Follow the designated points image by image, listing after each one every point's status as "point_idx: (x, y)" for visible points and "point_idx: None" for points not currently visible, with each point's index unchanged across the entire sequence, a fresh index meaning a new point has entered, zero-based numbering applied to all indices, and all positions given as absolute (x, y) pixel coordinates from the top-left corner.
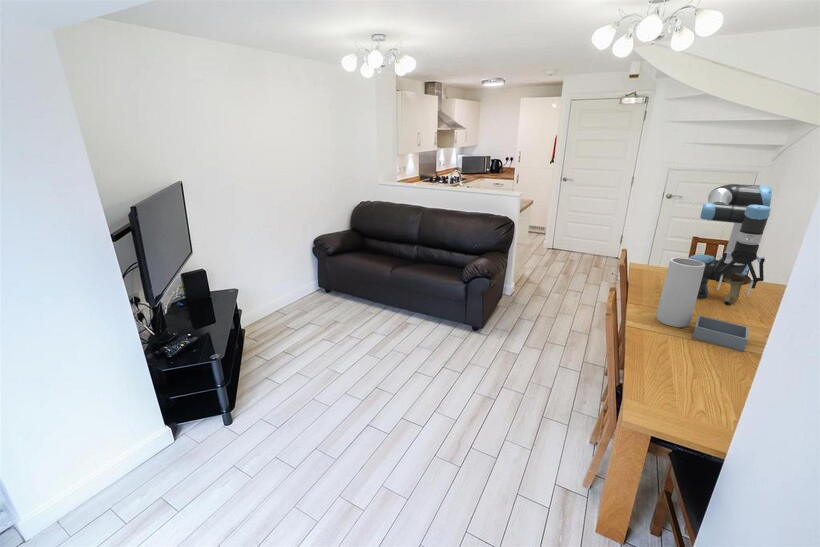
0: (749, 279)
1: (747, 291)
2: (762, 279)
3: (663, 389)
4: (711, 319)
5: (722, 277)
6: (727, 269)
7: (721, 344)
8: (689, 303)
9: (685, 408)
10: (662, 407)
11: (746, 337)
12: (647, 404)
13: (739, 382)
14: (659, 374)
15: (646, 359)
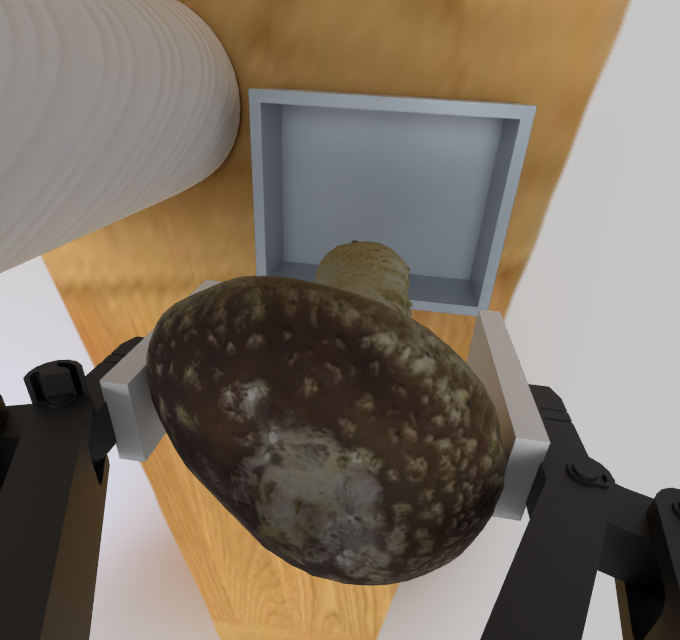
0: (462, 551)
1: (475, 362)
2: (659, 597)
3: (258, 580)
4: (325, 106)
5: (152, 446)
6: (94, 584)
7: None
8: (143, 200)
9: (305, 615)
10: (268, 623)
11: (484, 292)
12: (244, 623)
13: None
14: (236, 536)
15: (190, 487)
